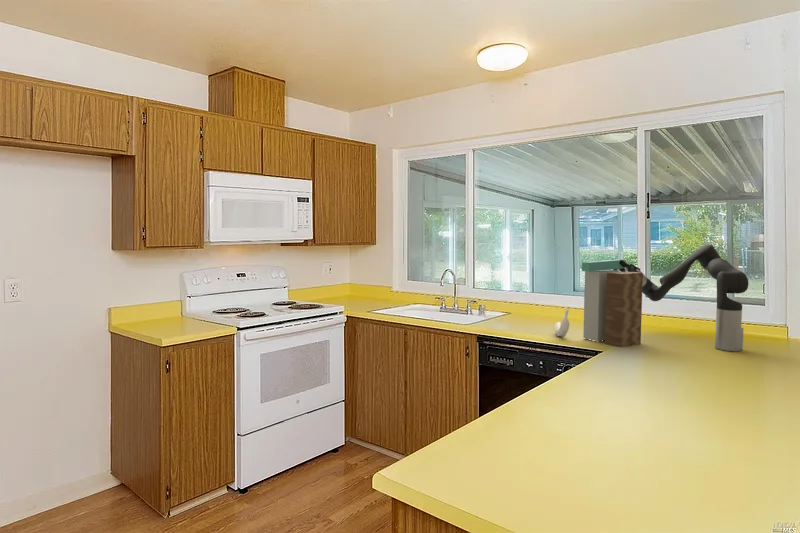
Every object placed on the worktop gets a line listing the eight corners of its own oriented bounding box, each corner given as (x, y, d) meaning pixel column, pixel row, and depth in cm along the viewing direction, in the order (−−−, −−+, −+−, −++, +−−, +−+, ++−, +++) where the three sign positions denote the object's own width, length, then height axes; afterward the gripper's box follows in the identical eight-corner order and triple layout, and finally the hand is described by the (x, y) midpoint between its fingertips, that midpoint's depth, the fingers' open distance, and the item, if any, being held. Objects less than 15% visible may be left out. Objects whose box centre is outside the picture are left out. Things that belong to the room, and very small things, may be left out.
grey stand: (603, 335, 253) (604, 269, 251) (617, 338, 246) (619, 270, 244) (583, 339, 246) (584, 271, 244) (597, 342, 239) (599, 272, 237)
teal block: (618, 267, 253) (618, 259, 253) (625, 268, 250) (625, 259, 249) (581, 270, 240) (581, 262, 239) (588, 271, 236) (589, 262, 236)
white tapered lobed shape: (560, 332, 262) (560, 303, 261) (572, 340, 243) (572, 309, 242) (550, 332, 262) (551, 303, 261) (561, 340, 243) (562, 309, 242)
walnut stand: (624, 340, 243) (626, 271, 241) (640, 343, 236) (642, 272, 234) (605, 343, 236) (606, 272, 234) (620, 347, 229) (622, 274, 227)
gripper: (646, 285, 250) (626, 269, 242) (620, 282, 262) (600, 267, 254) (651, 271, 252) (632, 254, 243) (625, 269, 264) (606, 253, 255)
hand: (616, 261), depth 249 cm, fingers closed on teal block, 4 cm apart
